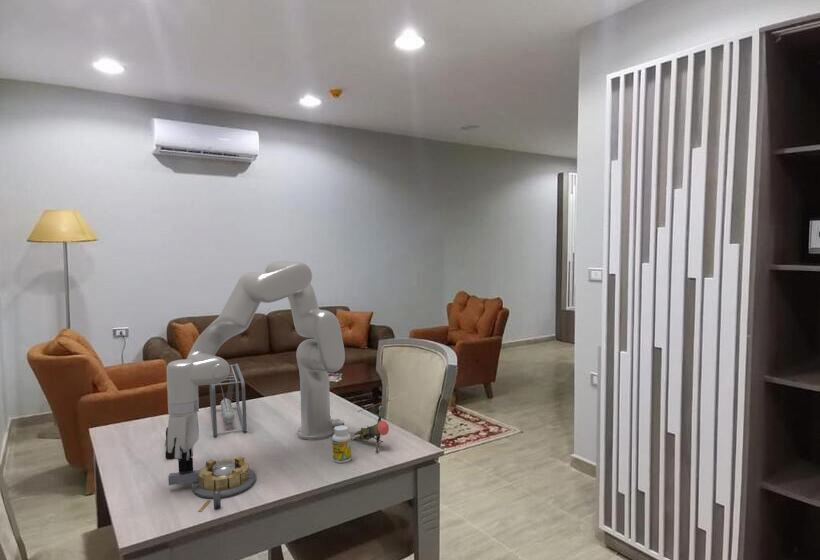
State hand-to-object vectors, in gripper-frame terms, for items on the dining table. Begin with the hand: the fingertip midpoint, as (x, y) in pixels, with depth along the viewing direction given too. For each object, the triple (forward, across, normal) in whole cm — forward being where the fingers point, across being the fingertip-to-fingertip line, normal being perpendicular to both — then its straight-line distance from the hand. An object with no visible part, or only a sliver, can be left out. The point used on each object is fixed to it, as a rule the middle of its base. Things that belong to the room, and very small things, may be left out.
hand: (186, 473), depth 139 cm
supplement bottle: (+2, -11, +41) cm, 42 cm away
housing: (+2, +5, +11) cm, 13 cm away
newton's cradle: (+2, -46, -3) cm, 46 cm away
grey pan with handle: (+1, +3, +7) cm, 8 cm away
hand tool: (+3, -23, -14) cm, 27 cm away
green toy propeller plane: (+2, -24, +49) cm, 54 cm away
